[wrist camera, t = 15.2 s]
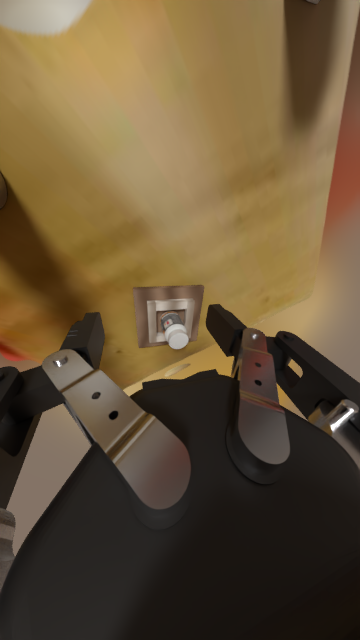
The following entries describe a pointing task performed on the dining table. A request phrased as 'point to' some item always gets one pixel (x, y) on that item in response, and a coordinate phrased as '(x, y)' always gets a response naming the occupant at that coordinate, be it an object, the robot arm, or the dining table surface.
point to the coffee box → (313, 1)
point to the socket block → (161, 300)
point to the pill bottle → (174, 330)
